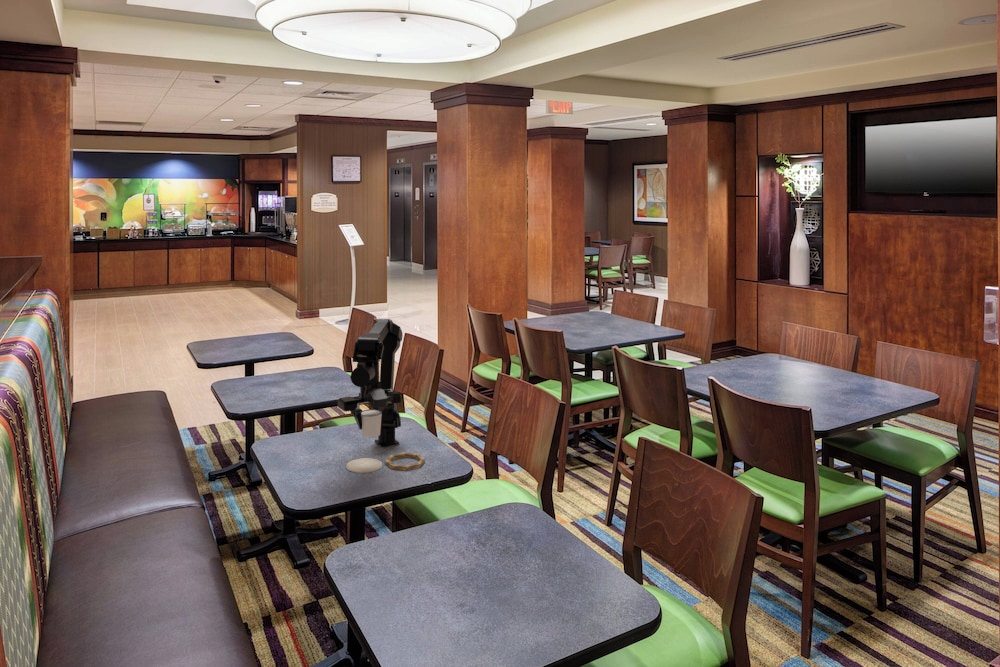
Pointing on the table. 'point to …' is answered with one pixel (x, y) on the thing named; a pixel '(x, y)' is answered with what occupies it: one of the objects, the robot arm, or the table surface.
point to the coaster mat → (364, 465)
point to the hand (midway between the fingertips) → (370, 427)
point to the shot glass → (371, 423)
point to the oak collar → (405, 467)
